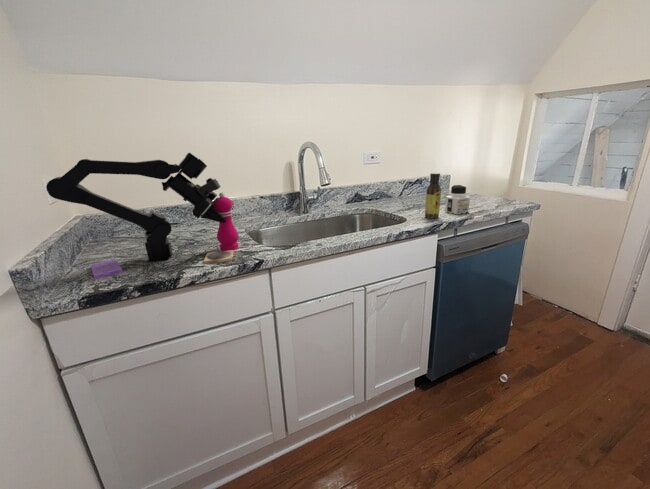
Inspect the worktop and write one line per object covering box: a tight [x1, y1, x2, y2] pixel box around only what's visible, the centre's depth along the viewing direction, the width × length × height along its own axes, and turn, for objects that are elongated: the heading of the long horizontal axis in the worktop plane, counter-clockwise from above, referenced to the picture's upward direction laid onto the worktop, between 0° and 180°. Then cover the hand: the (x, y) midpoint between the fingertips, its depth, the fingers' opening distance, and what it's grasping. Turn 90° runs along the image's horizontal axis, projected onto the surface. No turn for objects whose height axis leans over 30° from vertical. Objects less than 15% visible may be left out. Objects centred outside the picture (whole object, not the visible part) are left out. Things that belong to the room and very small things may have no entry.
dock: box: [203, 250, 235, 264], centre depth 101 cm, size 8×8×1 cm
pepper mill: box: [214, 192, 239, 251], centre depth 107 cm, size 7×7×20 cm
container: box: [444, 184, 471, 215], centre depth 148 cm, size 8×8×13 cm
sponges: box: [89, 258, 124, 280], centre depth 95 cm, size 7×13×2 cm, turn 41°
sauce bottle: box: [424, 172, 442, 219], centre depth 139 cm, size 6×6×20 cm
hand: (226, 219), depth 107 cm, fingers open, 7 cm apart
